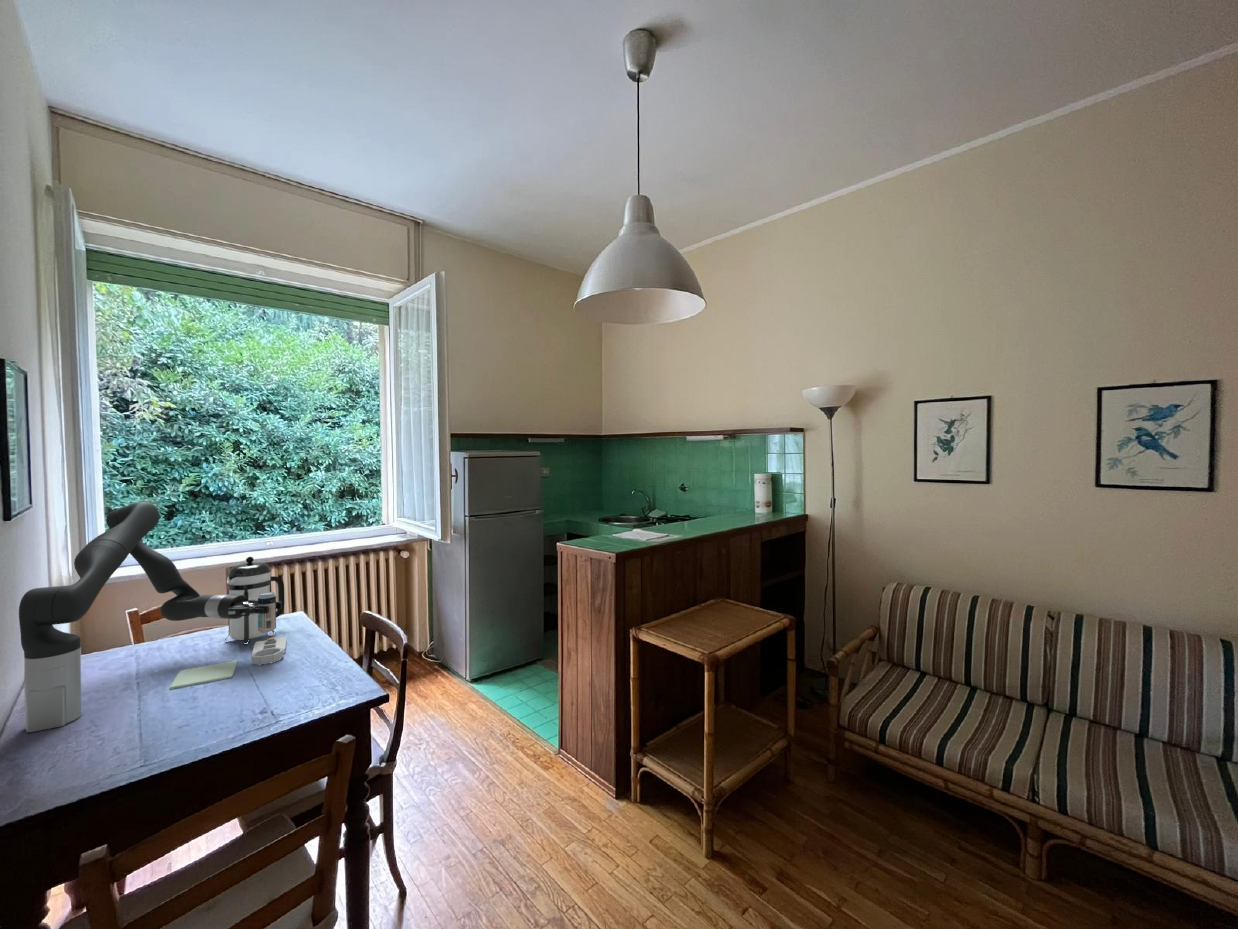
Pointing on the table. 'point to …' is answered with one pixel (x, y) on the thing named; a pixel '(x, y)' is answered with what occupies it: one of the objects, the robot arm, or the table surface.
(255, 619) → the coffee press
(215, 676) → the sage mat
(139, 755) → the table surface
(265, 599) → the beer can
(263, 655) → the charging dock
